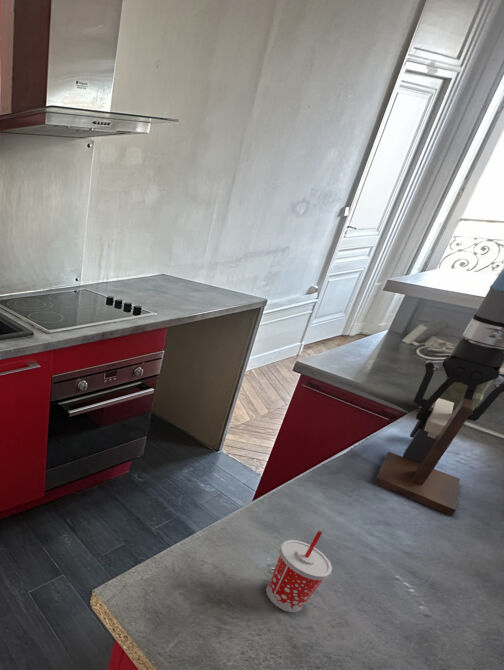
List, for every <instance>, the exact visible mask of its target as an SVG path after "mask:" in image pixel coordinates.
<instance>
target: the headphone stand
mask: <svg viewBox="0 0 504 670" xmlns="http://www.w3.org/2000/svg"><path fill="white" fill-rule="evenodd" d="M473 407H474V401H472V400H469V399H465V398H462V400H461V402H460V403H459V405H458V406H457V408H456V409H455V411H454V412H453V414H452V416H451V417H450V419H449V420H448V422H447V423H446V425H445V426H444V428H443V429H442V431H441V433H440V434H439V436H438V437H437V439H436V440H435V442H434V443H433V445H432V446H431V448H430V450H429V451H428V453H427V454H426V456H425V457H424V459H423V460H422V462H421V463H417V462H415V461H412V460H410V459H407V458H404V457H402V456H403V455H402V456H401V455H400V454H397V453H394V452H391V451H387V453H386V455H385V456H384V458H383V461H382V462H381V465H380V468H379V470H378V473H377V474H376V477H375V479H374V481H373V483H374V484H376V485H378V486H379V487H382V488H385V489H387V490H388V491H392V492H394V493H396V494H399V495H401V496H403V497H406V498H409V499H411V500H413V501H415V502H417V503H420V504H422V505H424V506H427V507H429V508H431V509H434V510H436V511H439V512H441V513H443V514H446V515H448V516H451V517H452V516H453V515H454V514H455V512H456V511H457V505H458V498H459V497H458V496H459V491H460V490H459V489H460V483H461V478H459V477H456V476H454V475H451V474H448V473H446V472H443V471H441V470H438V469H435V467H436V466H437V465H438V463H439V461H440V460H441V459H442V457H443V456H444V454H445V453H446V451H447V450H448V448H449V447H450V445H451V444H452V442H453V441H454V439H455V438H456V436H457V435H458V433H459V432H460V431H461V429H462V427H463V426H464V424H466V421H467V420H468V419H467V418H468V417H469V415H470V414H471V412H472V411H473Z"/></svg>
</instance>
